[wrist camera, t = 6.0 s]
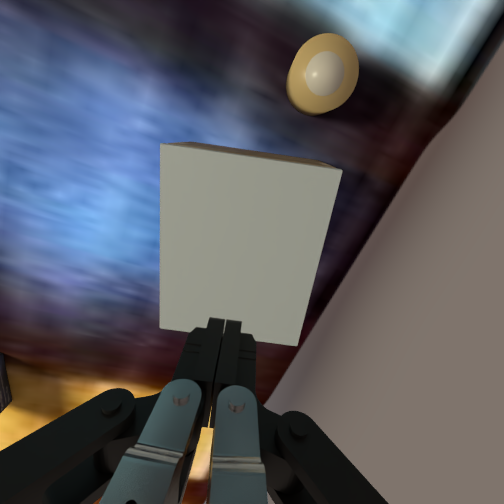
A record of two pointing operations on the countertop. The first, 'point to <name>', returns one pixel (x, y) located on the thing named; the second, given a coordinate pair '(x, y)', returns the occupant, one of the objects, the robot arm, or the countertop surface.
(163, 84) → the countertop surface
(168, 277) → the lid
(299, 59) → the tan rounded piece
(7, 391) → the small box
